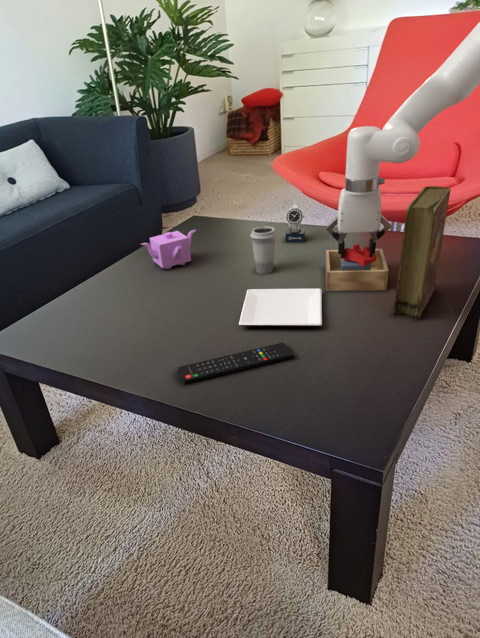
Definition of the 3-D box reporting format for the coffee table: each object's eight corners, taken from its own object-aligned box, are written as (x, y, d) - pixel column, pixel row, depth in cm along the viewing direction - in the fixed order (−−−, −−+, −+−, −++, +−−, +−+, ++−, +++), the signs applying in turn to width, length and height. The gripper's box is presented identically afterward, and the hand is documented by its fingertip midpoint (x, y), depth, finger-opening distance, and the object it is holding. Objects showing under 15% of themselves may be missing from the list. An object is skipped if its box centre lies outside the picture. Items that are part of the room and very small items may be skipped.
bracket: (343, 260, 135) (343, 249, 133) (355, 254, 137) (356, 243, 136) (363, 266, 131) (364, 254, 129) (376, 260, 133) (376, 249, 131)
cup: (275, 265, 151) (274, 224, 144) (279, 274, 145) (278, 232, 138) (250, 267, 151) (248, 227, 144) (253, 277, 145) (251, 235, 139)
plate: (247, 295, 136) (247, 288, 135) (321, 295, 132) (321, 287, 131) (238, 331, 121) (238, 323, 120) (321, 332, 117) (321, 324, 116)
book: (411, 287, 131) (425, 185, 117) (434, 291, 128) (452, 186, 114) (393, 317, 120) (406, 207, 106) (418, 321, 117) (435, 209, 103)
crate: (380, 268, 142) (382, 248, 139) (386, 291, 130) (388, 271, 127) (325, 269, 145) (325, 250, 142) (326, 292, 133) (327, 272, 130)
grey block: (367, 272, 139) (368, 254, 137) (369, 283, 134) (371, 265, 131) (339, 272, 141) (340, 255, 138) (341, 283, 135) (342, 265, 132)
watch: (284, 245, 162) (284, 210, 156) (287, 236, 169) (287, 202, 163) (303, 245, 161) (303, 210, 155) (305, 236, 167) (305, 201, 161)
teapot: (153, 279, 150) (148, 247, 145) (138, 265, 161) (132, 234, 155) (209, 264, 156) (206, 232, 151) (190, 251, 166) (187, 221, 161)
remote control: (293, 359, 109) (293, 354, 108) (182, 386, 105) (181, 381, 104) (283, 347, 113) (282, 342, 113) (176, 373, 109) (175, 367, 109)
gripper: (397, 178, 125) (389, 249, 135) (323, 182, 129) (321, 251, 139) (402, 186, 119) (393, 261, 129) (324, 190, 123) (321, 262, 133)
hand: (356, 255), depth 134 cm, fingers closed on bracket, 6 cm apart
